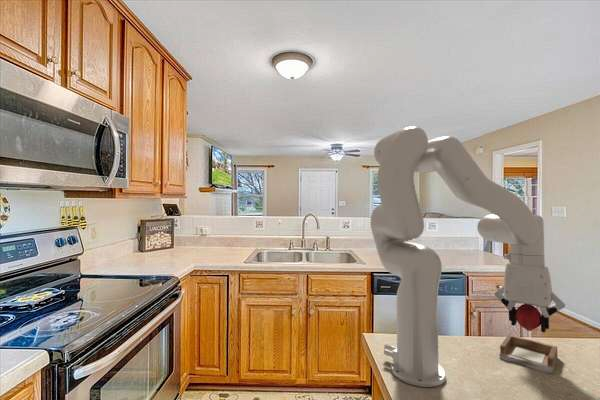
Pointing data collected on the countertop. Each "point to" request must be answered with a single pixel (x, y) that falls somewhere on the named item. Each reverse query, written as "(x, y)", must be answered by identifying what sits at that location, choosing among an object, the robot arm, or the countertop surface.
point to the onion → (528, 317)
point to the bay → (529, 353)
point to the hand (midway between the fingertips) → (528, 326)
